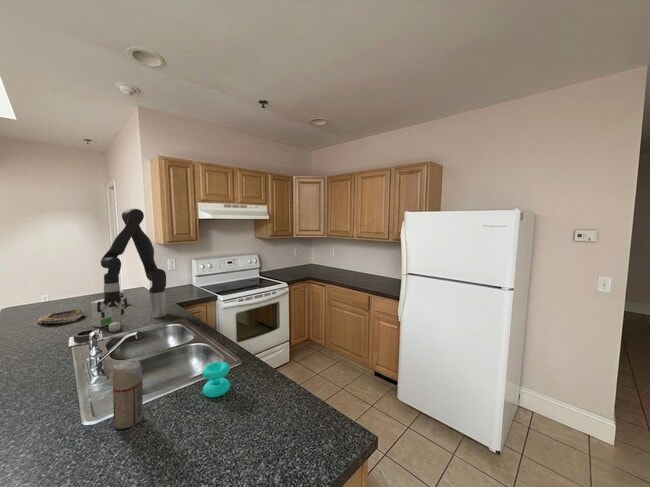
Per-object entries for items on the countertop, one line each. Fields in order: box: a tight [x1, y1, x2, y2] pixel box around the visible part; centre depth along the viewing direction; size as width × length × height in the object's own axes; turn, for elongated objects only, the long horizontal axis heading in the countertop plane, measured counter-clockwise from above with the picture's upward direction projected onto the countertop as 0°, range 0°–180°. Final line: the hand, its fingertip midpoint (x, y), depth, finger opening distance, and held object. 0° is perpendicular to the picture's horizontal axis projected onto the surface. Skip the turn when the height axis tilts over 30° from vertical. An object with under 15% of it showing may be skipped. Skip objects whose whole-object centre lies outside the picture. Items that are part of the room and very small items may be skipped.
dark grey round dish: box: [68, 328, 104, 348], centre depth 152 cm, size 14×14×4 cm
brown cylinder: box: [112, 359, 144, 430], centre depth 90 cm, size 8×8×20 cm
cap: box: [108, 321, 121, 333], centre depth 164 cm, size 5×5×4 cm
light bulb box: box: [120, 289, 126, 306], centre depth 213 cm, size 11×7×11 cm, turn 58°
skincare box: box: [90, 298, 113, 328], centre depth 172 cm, size 8×7×16 cm
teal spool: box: [201, 361, 231, 398], centre depth 107 cm, size 10×10×10 cm
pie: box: [32, 308, 85, 326], centre depth 179 cm, size 28×27×5 cm
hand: (112, 316), depth 163 cm, fingers open, 8 cm apart
